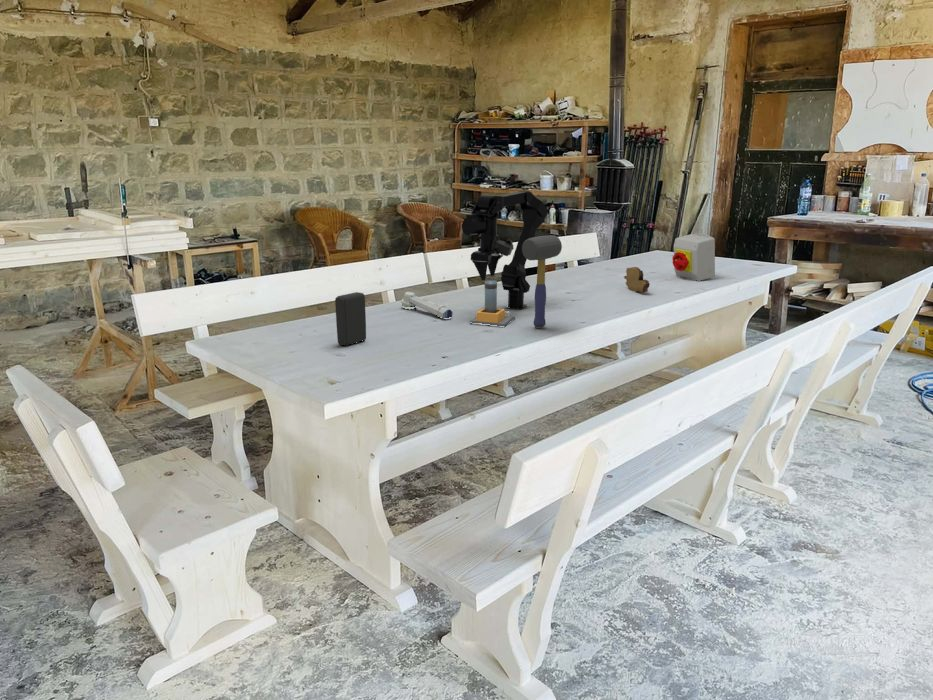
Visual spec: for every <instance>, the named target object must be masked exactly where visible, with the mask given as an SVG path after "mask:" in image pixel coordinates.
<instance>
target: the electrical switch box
mask: <svg viewBox="0 0 933 700" xmlns="http://www.w3.org/2000/svg"><path fill="white" fill-rule="evenodd" d="M674 239H675V240H674V244H673V255H672V259H671V260H672V265H673V270H674V273H675V275H676V276H677V277H679V276H681V277H680V278H683V277H685V278H684V279H687V278H688V279H687V280H691V279H693V280H692V281H695V280H697V281H696V282H702V281H704V280H708V279H711V278H712V279H713V278H715V276H716V260H715V259H716V255H715V253H716V252H715V250H716V248H715V247H716V244H715V241H716V239H715V238H714V237H713V236H710V235H708V234H706V233H704V232H703V233H702V232H700V233H691V234H687V235H683V236H678V237H676V238H674ZM701 280H702V281H701Z"/></svg>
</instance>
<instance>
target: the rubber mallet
mask: <svg viewBox="0 0 933 700" xmlns="http://www.w3.org/2000/svg"><path fill="white" fill-rule="evenodd" d="M562 248H563V245H562V241H561V240H560V238H559V237H558V236H556V235H553V234H552V235H538V236H534V237H533V238H529V239H527V240H525V241H524V243H523V245H522V252H523V255H524V257H525V258H526V259H527V260H528V261H537V266H536V267H537V269H536V271H537V272H536V285H535V289H534V317H533V325H534V328H535V327H536V328H535V329H543V327H544V328H545V326H546V324H547V323H546V303H547V286H546V283H545V282H546V260H548V259H552V258H554V257H555V258H556V257H558V256H559V255H560V254H561V252H562Z"/></svg>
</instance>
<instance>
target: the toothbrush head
mask: <svg viewBox="0 0 933 700" xmlns="http://www.w3.org/2000/svg"><path fill="white" fill-rule="evenodd" d="M400 303H401V307H402V306H404V307H415V306H416V307H418V308H420V309H422V310H424V311H426V312H428V313H430V314H432V315H434V316H436V315H437V316H436V317H438V316H439V317H442V318H449V317H453V310H452V309H450V308H447V306H445V305H441V304H438V303H436V302H432V301H430V300H428V299H425V298H422V297H420V296H417V295H415V293H414V292H411V291H406V292H404V295H403V298H402V299H401V301H400ZM442 318H441V319H442Z"/></svg>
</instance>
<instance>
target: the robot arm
mask: <svg viewBox="0 0 933 700" xmlns="http://www.w3.org/2000/svg"><path fill="white" fill-rule="evenodd" d="M515 205H518V207H519V209H520V210H521V212H522V213H521V219H522V223H523V225H522V229H521V231H520V234H519V238H518V240H517V243H516V247H515V249H514V245H513V244H514V243H513V240H511V239H507V240H506V241H504V240H501V239H500V236H499V235H498V219H500V220H501V219H502V216H501V215H500V214H499V212H501V211H503V209H504V208H507V207H511V206H515ZM547 215H548V208H547V206H546V204H544V202H543V201H541V200H540V199H539V198H537V197H536V196H535V195H534V193H532V191H529V190H518V191H516V192H515V191H514V192H510V193H506V194H505V193H504V194H499V195H492V194H491V195H489V194H481V195H479V198H478V199H477V202H476V203H475V206H474V207H473V209H472V211H471V213H470V214H466V215H465V218H464V219H462V220H463V221H462V222H461V231H462V232H463V234H464V235H466V236H474V235H478V236H477V239H478V240H479V247H478V248H477V250H475V251H473V252H472V253H471V254H470V261H471V262H472V264H474V266H475V269H476V271H477V273H478V274H479V277H480V280H481V281H486V276H487V270H489V274H490V276H491V277H492V276H495V274H496V270H497V266H498V263H499V260H500V259H502V257H504V256H506V257H508V256H510V255H511V254H512V251H513V250H515V251H514V253H513V255H512V260H511V261H510V263H509V264H504V265H503V268H502V271H501V274H500V275H501V277H500V281H501V286H502V289H503V290H504V291H507V293H508V294H507V298H508V300H507V305H508V307H510V308H509V309H511V308H519V309H518V310H523V309H524V308H525V306H526V307H527V304H526V303H525V304H524V302H525V301H524V299H525V294H526V293H528V292H529V291H530V289H531V285H530V283H529V282H528V281H527V279H526V276H527V271H526V267H525V266H526V262H527V260H528V259H526V258H525V257H524V255H523V252H522V245H523V243H524V241H525V240H527V239H529V238H533V237H536V236H535V235H536V232H537V230H538V228H540V227H541V226H542V224H543V223H544V221H545V220H546V217H547ZM522 308H523V309H522Z"/></svg>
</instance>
